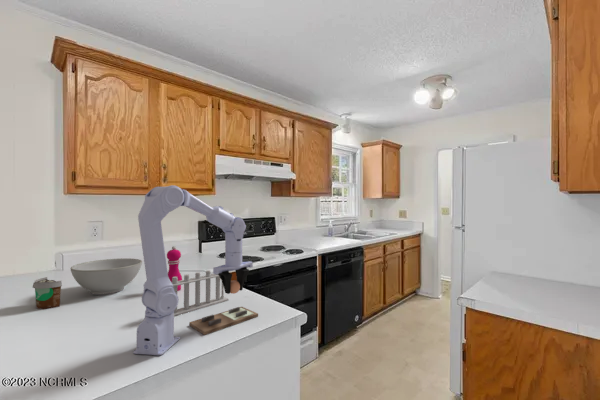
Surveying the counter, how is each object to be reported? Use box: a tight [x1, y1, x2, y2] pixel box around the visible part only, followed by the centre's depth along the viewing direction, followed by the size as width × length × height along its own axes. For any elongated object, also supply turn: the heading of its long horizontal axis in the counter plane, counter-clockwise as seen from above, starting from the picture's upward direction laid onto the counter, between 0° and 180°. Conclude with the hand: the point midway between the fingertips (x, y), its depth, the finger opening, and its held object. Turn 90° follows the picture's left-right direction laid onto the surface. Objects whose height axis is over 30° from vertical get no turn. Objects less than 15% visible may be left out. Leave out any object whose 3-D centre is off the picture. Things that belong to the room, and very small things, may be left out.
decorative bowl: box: [69, 257, 143, 295], centre depth 130 cm, size 27×27×12 cm
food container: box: [32, 276, 63, 310], centre depth 109 cm, size 12×6×10 cm, turn 62°
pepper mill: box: [166, 245, 183, 292], centre depth 131 cm, size 7×7×20 cm
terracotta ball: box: [230, 279, 240, 294], centre depth 99 cm, size 4×4×4 cm
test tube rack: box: [172, 269, 230, 318], centre depth 109 cm, size 25×4×13 cm, turn 139°
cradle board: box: [188, 306, 259, 336], centre depth 96 cm, size 20×10×2 cm, turn 136°
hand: (233, 291), depth 99 cm, fingers closed on terracotta ball, 4 cm apart
